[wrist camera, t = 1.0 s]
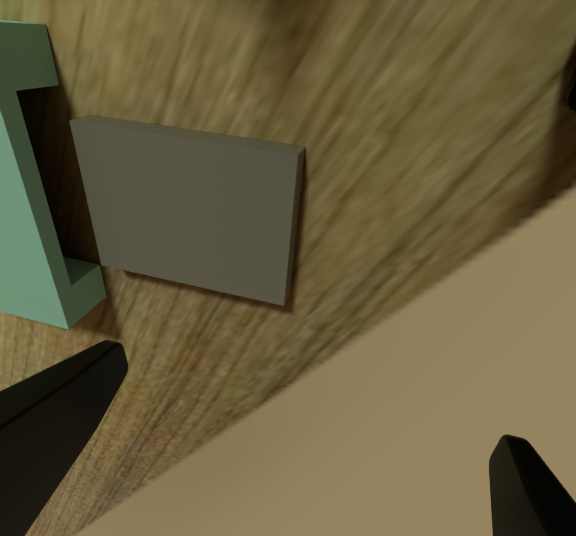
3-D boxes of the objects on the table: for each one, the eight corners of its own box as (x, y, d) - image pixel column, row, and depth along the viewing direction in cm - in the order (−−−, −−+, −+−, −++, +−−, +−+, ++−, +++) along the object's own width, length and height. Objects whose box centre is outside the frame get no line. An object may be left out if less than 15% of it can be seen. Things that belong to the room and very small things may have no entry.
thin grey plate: (305, 146, 17) (298, 155, 16) (290, 290, 21) (283, 305, 20) (91, 114, 19) (69, 120, 17) (117, 253, 23) (101, 265, 22)
